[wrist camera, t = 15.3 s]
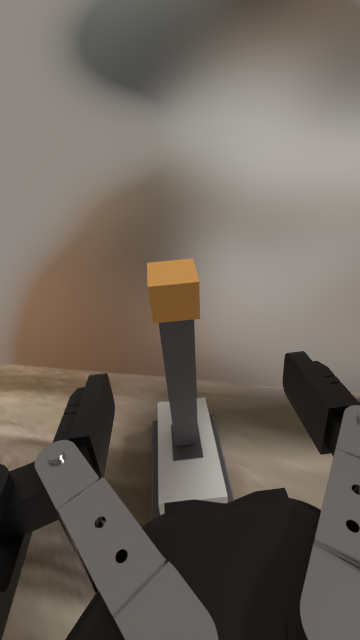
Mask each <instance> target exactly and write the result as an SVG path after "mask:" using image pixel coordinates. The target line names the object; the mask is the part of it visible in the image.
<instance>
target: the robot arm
mask: <svg viewBox="0 0 360 640" xmlns="http://www.w3.org/2000/svg"><path fill="white" fill-rule="evenodd" d="M283 372H284V373H283V388H284V391H285V394H286V396H287V398H288V399H289V401H290V403H291V404H292V406H293V408H294V410H295V411H296V413H297V415H298V416H299V418H300V420H301V422H302V423H303V425H304V427H305V429H306V430H307V432H308V434H309V435H310V437H311V439H312V441H313V442H314V444H315V446H316V447H317V449H318V451H319V453H320V454H328V453H332V455H333V462H332V466H331V470H330V475H329V479H328V483H327V488H326V492H325V496H324V501H323V505H322V509H321V510H320V509H318V508H316V507H314V506H312V505H310V504H308V503H305V502H303V501H300V500H296V499H291V498H288V495H287V493H286V490H285V488H280V489H272V490H264V491H256V492H253V493H251V494H248V495H246V496H243V497H241V498H239V499H236V500H234V501H231V502H229V503H218V502H211V501H203V500H196V499H192V500H184V501H176V502H168V503H164V514H162V515H160V516H158V517H156V518H154V519H153V520H151V521H150V522H149V523H147V524H146V525H145V526H144V527H143V528H141V526H140V525H139V524H138V522H137V521H136V520H135V518H134V517H133V516H132V514H131V513H130V512H129V510H128V509H127V508H126V506H125V505H124V503H123V502H122V501H121V499H120V498H119V497H118V495H117V494H116V493H115V491H114V490H113V489H112V487H111V486H110V485H109V483H108V482H107V481H106V479H105V478H104V473H105V467H106V461H107V455H108V449H109V443H110V437H111V432H112V426H113V420H114V414H115V404H114V398H113V394H112V390H111V386H110V382H109V378H108V375H107V373H104V374H95V375H89V377H88V380H87V383H86V386H85V387H82V388H78V389H77V390H76V391H75V392H74V393H73V394H72V395H71V396H70V398H69V401H68V404H67V407H66V409H65V411H64V415H63V417H62V419H61V422H60V425H59V427H58V430H57V433H56V435H55V438H54V440H53V443H51V444H49V445H48V446H46V447H45V448H44V449H43V450H42V451H41V452H40V453H39V454H38V456H37V457H36V460H35V461H34V462H32V463H30V464H28V465H25V466H23V467H20V468H17V469H15V470H12V471H8V469H7V467H6V466H4V465H2V464H0V640H1V639H2V636H3V632H4V629H5V625H6V622H7V619H8V615H9V612H10V608H11V605H12V601H13V598H14V594H15V591H16V587H17V584H18V580H19V577H20V573H21V570H22V566H23V563H24V559H25V556H26V552H27V549H28V545H29V542H30V538H31V535H32V531H34V530H36V529H39V528H41V527H43V526H45V525H47V524H50V523H52V522H54V521H56V520H59V522H60V524H61V526H62V528H63V530H64V532H65V533H66V535H67V537H68V539H69V541H70V543H71V545H72V547H73V549H74V551H75V553H76V555H77V557H78V559H79V561H80V563H81V565H82V568H83V570H84V572H85V574H86V576H87V578H88V580H89V582H90V584H91V586H92V588H93V590H94V592H95V596H94V597H93V599H92V600H91V602H90V603H89V605H88V606H87V608H86V609H85V611H84V612H83V614H82V615H81V617H80V618H79V620H78V621H77V623H76V624H75V626H74V627H73V629H72V630H71V632H70V633H69V635H68V636H67V638H66V639H65V640H360V403H359V402H358V401H357V400H356V399H355V398H354V396H353V395H352V394H351V393H350V392H349V391H348V390H347V388H346V387H345V386H344V385H343V384H342V383H340V380H339V379H338V378H337V377H335V375H334V374H333V373H332V371H331V370H330V369H329V368H328V367H327V366H325V365H323V364H321V363H320V362H318V361H312V360H311V359H310V358H309V357H308V355H307V354H306V353H305V352H304V351H301V352H292V353H286V354H285V360H284V371H283Z"/></svg>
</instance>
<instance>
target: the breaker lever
mask: <svg viewBox="0 0 360 640" xmlns="http://www.w3.org/2000/svg"><path fill="white" fill-rule="evenodd" d="M147 264H148V265H147V272H148V292H149V298H150V305H151V311H152V319H153V323H159V328H160V336H161V344H162V351H163V358H164V366H165V373H166V381H167V388H168V396H169V403H170V411H171V418H172V425H173V433H174V440H175V446H182V445H190V444H198V422H197V393H196V366H195V365H196V364H195V338H194V337H195V335H194V319H200V305H199V280H198V276H197V272H196V268H195V264H194V260H193V259H184V260H173V261H163V262H152V263H147Z"/></svg>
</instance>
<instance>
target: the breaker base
mask: <svg viewBox="0 0 360 640" xmlns="http://www.w3.org/2000/svg"><path fill="white" fill-rule="evenodd" d="M197 422H198V444H190V445H182V446H175V440H174V433H173V425H172V418H171V411H170V403H169V401H167V402H158V421H152V487H151V520H153V519H154V518H156V517H158V516H160V515H162V514H164V503H168V502H176V501H184V500H192V499H196V500H203V501H211V502H218V503H229V502H231V501H234V497H233V493H232V488H231V484H230V480H229V476H228V472H227V468H226V464H225V460H224V456H223V452H222V448H221V444H220V440H219V436H218V432H217V428H216V424H215V419H214V415H213V414H212V415H209V412H208V408H207V403H206V399H205V397H203V398H197Z"/></svg>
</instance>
